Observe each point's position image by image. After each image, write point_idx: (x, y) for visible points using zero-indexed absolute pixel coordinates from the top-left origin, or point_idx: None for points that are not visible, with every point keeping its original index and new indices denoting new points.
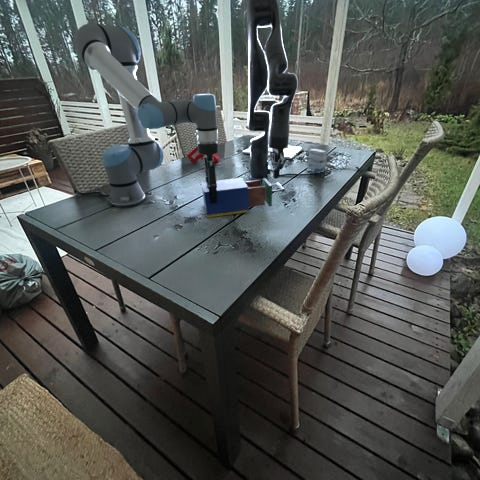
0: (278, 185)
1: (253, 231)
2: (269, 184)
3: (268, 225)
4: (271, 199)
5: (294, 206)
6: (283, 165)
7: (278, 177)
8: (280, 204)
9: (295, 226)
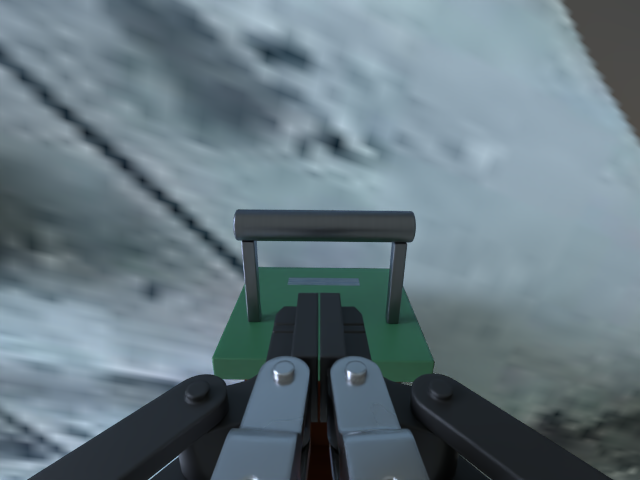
0: (309, 240)
1: (562, 389)
2: (391, 372)
3: (543, 319)
4: (405, 294)
5: (381, 93)
6: (585, 470)
7: (339, 299)
8: (327, 178)
9: (621, 193)
